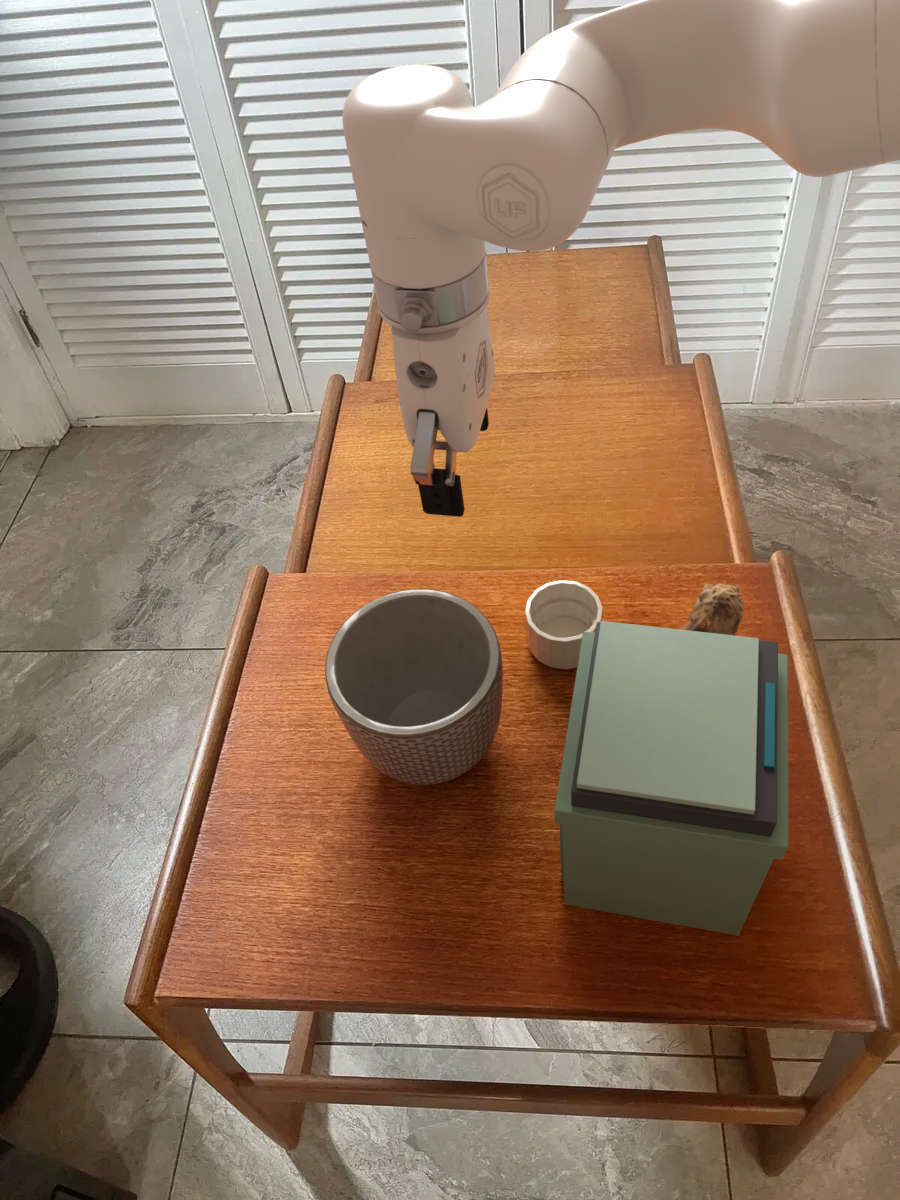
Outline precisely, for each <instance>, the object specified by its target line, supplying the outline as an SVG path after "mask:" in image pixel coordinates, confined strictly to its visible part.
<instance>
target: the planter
mask: <svg viewBox="0 0 900 1200" xmlns="http://www.w3.org/2000/svg"><path fill="white" fill-rule="evenodd" d="M342 623H343V624H342V625H340V627H339V629H338V630H337V631H336V633H335V635H334V636H333V638H332V640H331V642H330V645H329V647H328V649H327V652H326V653H327V654H326V658H325V664H324V677H325V683H326V688H327V692H328V696H329V699H330V702H331V703H332V706H333V707H334V710H335V713H337V715H338V717H339V718H340V721H341V723H342V724H343V726H344V728H345V730H346V732H347V733H348V735H349V737H350V738H351V739H352V741H353V742H354V744H355V746H356V747H357V749H358V750H359V751H360V753H361V754H362V755H363V756H364V758H366V760H367V761H368V762H369V763H370V764H371V765H372V766H373V767H374V768H376V769H377V770H378V771H379V772H381V773H383V775H386V776H388V777H389V778H391V779H393V780H396V781H399V782H402V783H406V784H412V785H417V786H418V785H419V786H421V785H422V786H429V785H436V784H442V783H446V782H449V781H451V780H454V779H456V778H458V777H460V776H462V775H464V774H465V773H467V772H468V771H470V770H471V769H472V768H473V767H475V766H476V765H477V764H478V763H480V761H481V760H482V759H483V757H484V756H486V754H487V753H488V751H489V749H490V747H492V744H493V742H494V740H495V737H496V735H497V733H498V729H499V725H500V721H501V720H500V719H501V716H502V715H501V714H502V704H503V689H504V688H503V669H504V668H503V667H504V665H503V655H502V648H501V644H500V641H499V638H498V636H497V635H498V634H497V633H496V630H495V628H494V627H493V625H492V623H491V621H490V620H489V619H488V618H487V616H486V615H485V614H484V613H483V612H482V611H481V609H479V608H478V607H476V605H474V604H473V603H472V602H469V601H468V600H467V599H465V598H464V597H462V596H458V595H456V594H454V593H450V592H448V591H443V590H438V589H432V588H431V589H430V588H411V589H404V590H403V589H402V590H398V591H395V592H391V593H386V594H384V595H382V596H380V597H377V598H375V599H373V600H371V601H369V602H368V603H366V604H364V605H363V606H361V607H360V608H358V609H357V610H356V611H354V612H353V613H352V614H351V615H350V616H348V618H347V619H346V620H345V621H344V622H342Z"/></svg>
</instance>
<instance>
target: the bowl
mask: <svg viewBox="0 0 900 1200" xmlns="http://www.w3.org/2000/svg"><path fill="white" fill-rule="evenodd" d="M603 611H604V609H603V604H602V602H601V600H600V596H598V594H596V592H594V591H593V589H592V588H591V587H589V586H587V585H585V584H583V583H581V582H579V581H575V580H566V579H559V580H554V581H550V582H546V583H544V584H543V585H541V586H539V587H538V588H536V589H535V590H534V591H533V592H532V593H531V595H530V596H529V597H528V598H527V601H526V605H525V610H524V616H525V617H524V618H525V630H526V633H525V634H526V642H527V645H528V649H529V652H530V653H531V654H532V655H533V657H534V658H535V659H536V660H537V661H538V662H540V663H541V664H544V665H545V666H548V667H550V668H552V669H559V670H570V669H575V668H576V669H577V666H578V660H579V654H580V647H581V641H582V635H583V632H584V631H585V632H594V633H595V630H596V624H597V622H601V621H603Z"/></svg>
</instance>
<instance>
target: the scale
mask: <svg viewBox="0 0 900 1200" xmlns="http://www.w3.org/2000/svg"><path fill="white" fill-rule="evenodd" d="M778 654H779V642H778V641H772V640H763V639H760V638H758V637H752V636H743V635H742V636H741V635H735V636H734V635H725V634H716V633H707V632H698V631H689V630H680V628H670V627H660V626H652V625H643V624H633V623H623V622H616V621H608V620H602V621H601V622H597V624H596V630H595V637H594V644H593V650H592V657H591V664H590V670H589V677H588V683H587V690H586V697H585V703H584V710H583V717H582V723H581V730H580V736H579V743H578V750H577V756H576V763H575V769H574V776H573V783H572V789H571V805H572V806H576V807H583V808H589V809H596V810H602V811H609V812H615V813H621V814H628V815H634V816H641V817H647V818H653V819H660V820H666V821H673V822H679V823H685V824H692V825H698V826H705V827H711V828H717V829H724V830H730V831H737V832H743V833H749V834H756V835H762V836H769V837H771V835H772V833H773V831H774V828H775V826H776V824H777V715H778Z"/></svg>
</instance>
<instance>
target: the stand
mask: <svg viewBox="0 0 900 1200" xmlns="http://www.w3.org/2000/svg"><path fill="white" fill-rule="evenodd" d="M594 637H595V633H594V632H585V631H584V632H583V635H582V641H581V647H580V654H579V660H578V666H577V667H576V673H575V679H574V685H573V691H572V698H571V703H570V710H569V717H568V722H567V728H566V735H565V741H564V746H563V747H564V748H563V753H562V761H561V766H560V772H559V779H558V785H557V792H556V797H555V803H554V809H553V810H554V812H553V813H554V814H553V815H554V824H556V825H559V844H560V845H559V846H560V847H559V848H560V849H559V850H560V880H561V881H562V882H563V892H564V893H563V899H564V900H563V903H564V905H567V906H572V907H577V908H583V909H588V910H592V911H593V910H594V911H599V912H605V913H611V914H616V915H622V916H628V917H632V918H639V919H644V920H649V921H655V922H661V923H666V924H671V925H677V926H683V927H688V928H693V929H698V930H705V931H711V932H716V933H722V934H727V935H732V936H740V934H741V931H742V929H743V927H744V925H745V922H746V920H747V918H748V916H749V913H750V912H751V909H752V907H753V905H754V903H755V901H756V898H757V896H758V894H759V892H760V890H761V888H762V885H763V884H764V881H765V878H766V877H767V875H768V872H769V870H770V867H772V864H773V861H774V860H779V861H783V859H784V857H785V855H786V853H787V851H788V849H789V655H788V654H786V653H785V654H784V653H778V715H777V824H776V826H775V828H774V831H773V833H772V835H771V837H769V836H762V835H756V834H749V833H743V832H737V831H730V830H724V829H717V828H711V827H705V826H698V825H692V824H685V823H679V822H673V821H666V820H660V819H653V818H647V817H641V816H634V815H628V814H621V813H615V812H609V811H602V810H596V809H589V808H583V807H576V806H572V805H571V789H572V783H573V776H574V769H575V763H576V756H577V750H578V743H579V736H580V730H581V723H582V717H583V710H584V703H585V697H586V690H587V683H588V677H589V670H590V664H591V657H592V650H593V644H594Z"/></svg>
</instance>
